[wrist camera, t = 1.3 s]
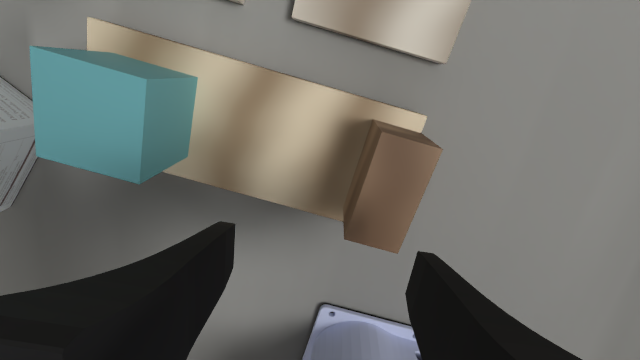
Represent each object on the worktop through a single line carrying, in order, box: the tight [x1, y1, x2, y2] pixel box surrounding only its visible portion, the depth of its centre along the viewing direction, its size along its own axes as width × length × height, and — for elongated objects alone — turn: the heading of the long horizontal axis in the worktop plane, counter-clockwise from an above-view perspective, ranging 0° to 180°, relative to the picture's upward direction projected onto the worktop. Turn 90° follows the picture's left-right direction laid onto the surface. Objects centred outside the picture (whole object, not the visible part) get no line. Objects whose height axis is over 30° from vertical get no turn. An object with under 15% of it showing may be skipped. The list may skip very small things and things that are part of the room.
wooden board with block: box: [87, 17, 443, 254], centre depth 17 cm, size 20×8×5 cm, turn 75°
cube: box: [30, 46, 198, 184], centre depth 16 cm, size 5×5×5 cm
